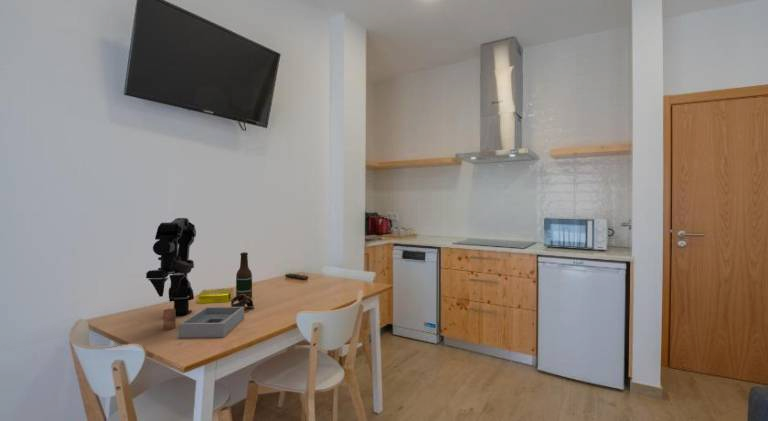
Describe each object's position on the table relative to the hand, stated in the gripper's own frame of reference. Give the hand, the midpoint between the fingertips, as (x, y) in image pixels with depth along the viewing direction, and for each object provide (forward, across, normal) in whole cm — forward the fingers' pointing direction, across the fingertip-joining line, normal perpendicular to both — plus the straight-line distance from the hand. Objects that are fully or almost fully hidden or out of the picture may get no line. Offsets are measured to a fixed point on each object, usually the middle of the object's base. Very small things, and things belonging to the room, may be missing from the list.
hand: (168, 294), depth 139 cm
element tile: (+10, +45, +3) cm, 47 cm away
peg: (+13, +1, 0) cm, 13 cm away
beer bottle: (+10, +46, -11) cm, 48 cm away
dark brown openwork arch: (+12, +28, -18) cm, 35 cm away
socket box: (+14, +2, -17) cm, 22 cm away
